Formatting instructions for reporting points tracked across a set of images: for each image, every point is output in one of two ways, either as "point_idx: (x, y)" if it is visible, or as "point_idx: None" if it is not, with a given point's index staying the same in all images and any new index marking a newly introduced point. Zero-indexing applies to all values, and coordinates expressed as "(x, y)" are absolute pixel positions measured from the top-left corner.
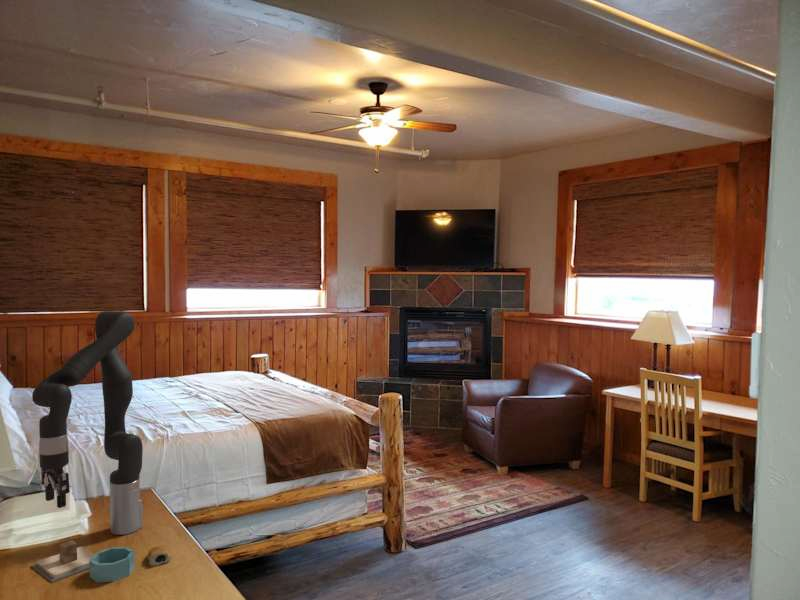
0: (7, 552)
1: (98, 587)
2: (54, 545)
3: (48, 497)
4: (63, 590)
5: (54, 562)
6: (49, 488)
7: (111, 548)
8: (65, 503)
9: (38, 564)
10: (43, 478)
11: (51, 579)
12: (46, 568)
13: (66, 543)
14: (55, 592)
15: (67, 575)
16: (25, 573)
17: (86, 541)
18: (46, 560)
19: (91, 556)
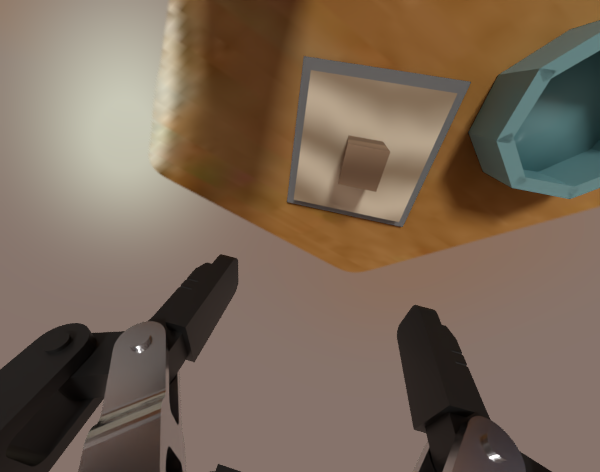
0: (179, 183)
1: None
2: (214, 98)
3: (227, 294)
4: (458, 235)
5: (337, 182)
6: (190, 348)
7: (548, 73)
8: (455, 338)
9: (308, 202)
10: (57, 452)
11: (393, 222)
12: (349, 209)
13: (354, 170)
14: (445, 245)
15: (416, 196)
16: (307, 222)
17: (260, 5)
18: (308, 184)
19: (411, 101)
